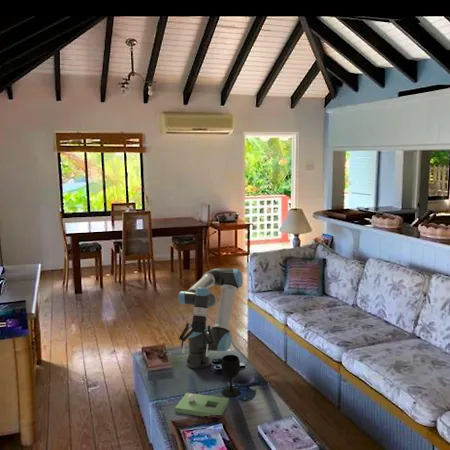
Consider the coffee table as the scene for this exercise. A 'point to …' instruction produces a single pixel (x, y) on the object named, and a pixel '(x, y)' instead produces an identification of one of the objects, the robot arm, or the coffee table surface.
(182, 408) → the putting mat
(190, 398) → the ball
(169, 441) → the coffee table surface
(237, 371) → the wine glass
